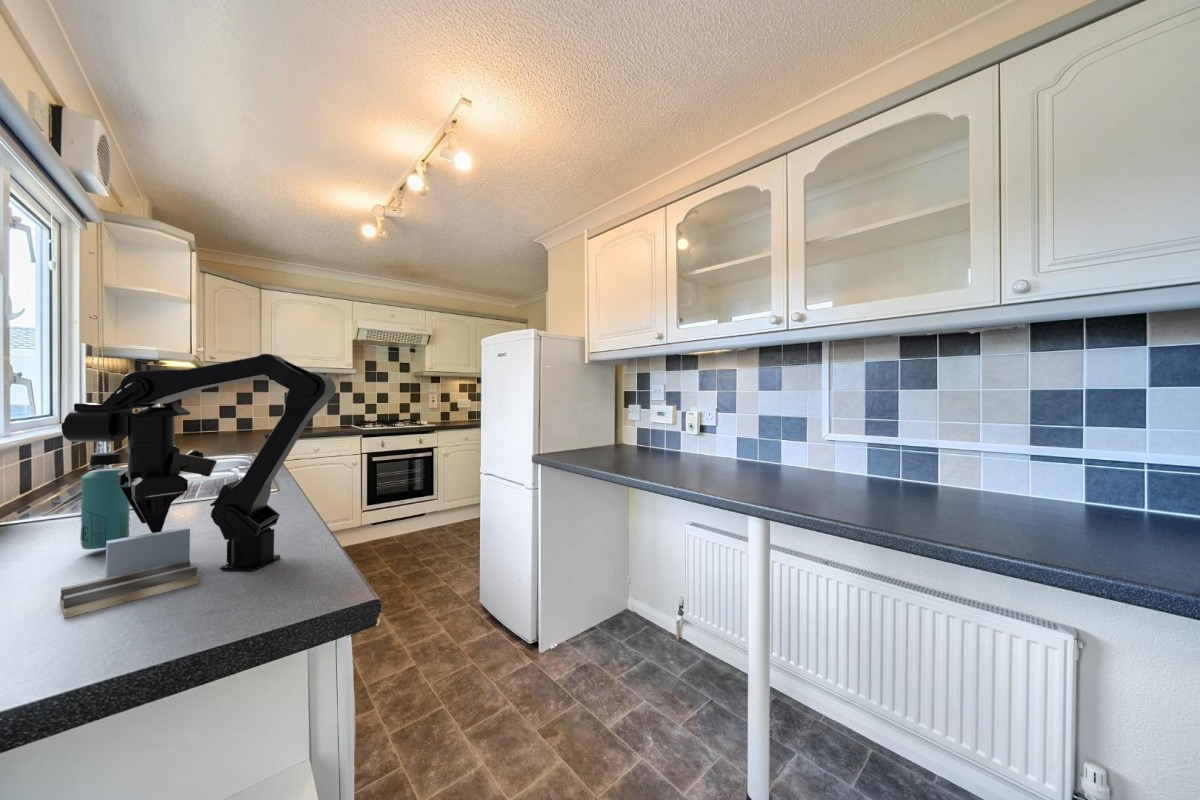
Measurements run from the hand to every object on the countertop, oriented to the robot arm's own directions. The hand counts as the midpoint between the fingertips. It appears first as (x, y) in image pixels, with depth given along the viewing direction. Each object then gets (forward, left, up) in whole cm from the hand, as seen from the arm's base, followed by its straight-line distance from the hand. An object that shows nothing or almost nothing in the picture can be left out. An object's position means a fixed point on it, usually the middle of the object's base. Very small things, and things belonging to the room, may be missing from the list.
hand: (151, 527), depth 74 cm
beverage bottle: (+20, -9, -8) cm, 23 cm away
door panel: (0, 0, -8) cm, 8 cm away
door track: (-5, +7, -8) cm, 12 cm away
